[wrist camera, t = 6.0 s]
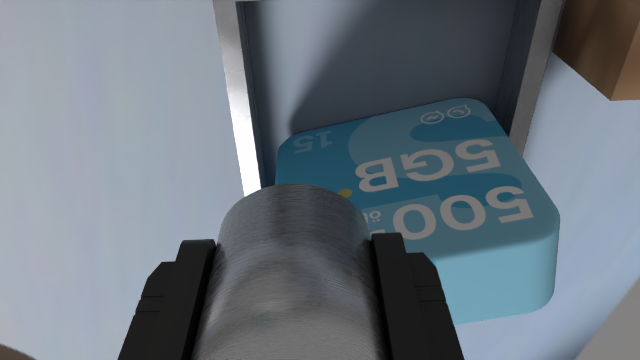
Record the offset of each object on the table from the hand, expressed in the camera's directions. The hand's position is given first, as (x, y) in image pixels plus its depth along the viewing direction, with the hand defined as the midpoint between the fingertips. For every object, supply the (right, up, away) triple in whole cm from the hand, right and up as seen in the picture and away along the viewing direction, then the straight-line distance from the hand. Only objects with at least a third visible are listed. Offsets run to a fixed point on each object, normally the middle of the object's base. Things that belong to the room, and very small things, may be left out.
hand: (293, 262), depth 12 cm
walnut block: (+15, +11, +12) cm, 22 cm away
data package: (+4, +4, +17) cm, 18 cm away
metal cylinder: (0, 0, 0) cm, 1 cm away
